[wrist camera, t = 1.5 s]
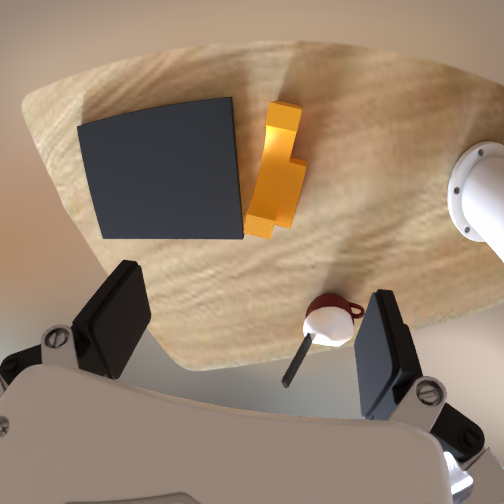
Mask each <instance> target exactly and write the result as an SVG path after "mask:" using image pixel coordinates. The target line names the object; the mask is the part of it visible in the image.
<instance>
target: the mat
mask: <svg viewBox="0 0 504 504" xmlns="http://www.w3.org/2000/svg"><path fill="white" fill-rule="evenodd" d="M77 131H78V136H79V142H80V147H81V153H82V158H83V163H84V167H85V172H86V176H87V181H88V185H89V189H90V193H91V197H92V201H93V205H94V209H95V212H96V216H97V220H98V223H99V227H100V230H101V233H102V237H103V239H243V238H244V233H243V230H244V228H243V217H242V206H241V195H240V184H239V172H238V161H237V150H236V138H235V126H234V115H233V103H232V97H227V98H217V99H208V100H200V101H193V102H186V103H179V104H173V105H167V106H161V107H156V108H150V109H145V110H141V111H136V112H131V113H127V114H122V115H118V116H114V117H110V118H106V119H102V120H98V121H95V122H91V123H88V124H84V125H81V126H77Z"/></svg>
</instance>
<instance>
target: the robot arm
mask: <svg viewBox="0 0 504 504" xmlns="http://www.w3.org/2000/svg"><path fill="white" fill-rule="evenodd" d="M454 188H455V189H454ZM447 201H448V209H449V213H450V216H451V219H452V220H453V222H454V224H455V226H456V227H457V228H458V229H459V231H460V232H461V233H462V234H463V235H464V236H466V237H467V238H469V239H471V240H474V241H479V242H485V241H486V242H487V243H488V244H489V245H490V247H491V248H492V249H493V250H494V251H495V252H496V253H497V255H498V256H499V257H500V258H501V259H502V261H503V262H504V145H502V144H500V143H497V142H493V141H484V142H481V143H477V144H476V145H474V146H472V147H470V148H469V149H468V150H467V151H466V152H465V153H464V154H463V155H462V156H461V157H460V159H459V160H458V161H457V163H456V165H455V167H454V169H453V171H452V174H451V177H450V180H449V186H448V196H447ZM150 319H151V311H150V307H149V302H148V298H147V293H146V288H145V284H144V279H143V274H142V269H141V266H140V265H138V263H137V262H136V261H130V260H123V261H122V262H121V263H120V264H119V265H118V266H117V267H116V269H115V270H114V271H113V272H112V273H111V274H110V276H109V277H108V278H107V279H106V281H105V282H104V283H103V284H102V285H101V286H100V288H99V289H98V290H97V291H96V293H95V294H94V295H93V296H92V298H91V299H90V300H89V301H88V303H87V304H86V305H85V306H84V308H83V309H82V310H81V312H80V313H79V314H78V315H77V317H76V318H75V319H74V321H73V322H72V323H73V325H72V326H71V328H70V327H68V326H66V325H56V326H53V327H51V328H49V329H48V330H47V331H46V332H45V333H44V334H43V336H42V339H41V344H40V345H37V346H34V347H31V348H28V349H25V350H23V351H20V352H17V353H14V354H11V355H9V356H7V357H6V358H5V359H4V360H3V362H2V363H1V366H0V504H502V502H503V501H504V467H503V466H502V465H501V463H500V462H499V461H498V459H497V458H496V456H495V455H494V454H493V452H492V451H491V450H490V448H489V447H488V448H487V449H486V448H485V447H484V441H485V438H484V434H483V431H482V430H481V428H480V427H479V426H478V425H477V424H475V423H474V422H472V421H471V420H470V419H468V418H467V417H466V416H464V415H463V414H461V413H460V412H459V411H457V410H456V409H454V408H453V407H451V406H450V405H449V404H448V403H446V399H447V392H446V389H445V387H444V386H443V384H442V383H441V382H440V381H439V380H437V379H435V378H433V377H429V376H423V374H422V370H421V367H420V363H419V359H418V356H417V353H416V349H415V346H414V343H413V340H412V336H411V333H410V330H409V327H408V325H406V324H404V323H403V320H402V317H401V314H400V311H399V308H398V305H397V302H396V299H395V296H394V294H393V291H392V290H382V289H378V290H377V292H376V293H372V295H371V298H370V301H369V304H368V307H367V310H366V312H365V315H364V318H363V321H362V323H361V326H360V329H359V331H358V334H357V337H356V339H355V344H354V348H355V356H356V364H357V373H358V383H359V393H360V404H361V414H362V416H363V417H365V418H366V419H338V418H320V417H305V416H292V415H281V414H272V413H264V412H256V411H249V410H242V409H236V408H229V407H223V406H217V405H212V404H207V403H202V402H197V401H192V400H187V399H183V398H179V397H174V396H170V395H166V394H162V393H158V392H154V391H150V390H147V389H143V388H139V387H136V386H132V385H129V384H126V383H122V382H119V381H115V379H118V378H119V377H120V375H121V373H122V372H123V369H124V368H125V366H126V364H127V362H128V360H129V358H130V357H131V355H132V353H133V351H134V349H135V347H136V345H137V344H138V342H139V340H140V338H141V336H142V334H143V333H144V330H145V329H146V327H147V325H148V324H149V322H150Z"/></svg>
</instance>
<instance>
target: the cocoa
mask: <svg viewBox="0 0 504 504" xmlns="http://www.w3.org/2000/svg"><path fill="white" fill-rule="evenodd" d="M351 307H353V308H357V309H359V310H361V313H359V314H354V313H352V310H351ZM364 313H365V312H364V308H363V307H362V306H360V305H358V304H355V303H351V302H347V301H346V300H345V299H344V298H343V297H341V296H339V295H336V294H324V295H321V296H319V297H317V298H315V299H314V300H313V302H312V303H311V304H310V305H309V307H308V310H307V313H306V318H305V323H304V335H305V338H304V340H303V342H302V344H301V346H300V348H299V350H298V351H297V353H296V355H295V357H294V359H293V360H292V362H291V364H290V366H289V368H288V369H287V371H286V373H285V375H284V376H283V378H282V380H281V382H282V384H283V386H284V387H285V388H288V387H289V385H290V383H291V381H292V379H293V377H294V376H295V374H296V372H297V370H298V368H299V366H300V365H301V363H302V361H303V359H304V357H305V355H306V353H307V351H308V349H309V347H310V345H311V344H312V343H316V344H322V345H331V346H340V345H342V344H343V343H345V342H347V341H348V340H350V339H351V338H352V336H353V335H354V327H353V325H354V318H355V319H358V318H362V317H363V316H364Z"/></svg>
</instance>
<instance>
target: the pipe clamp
mask: <svg viewBox="0 0 504 504" xmlns="http://www.w3.org/2000/svg"><path fill="white" fill-rule="evenodd" d="M301 113H302V106H299V105H295V104H290V103H286V102H282V101H277V100H276V101H273V102H270V104H269V109H268V114H267V118H266V123H265V125H266V127H267V131H266V140H265V146H264V151H263V156H262V161H261V166H260V170H259V174H258V178H257V182H256V186H255V190H254V194H253V197H252V200H251V204H250V207H249V210H248V212H247V215H246V220H245V225H244V230H243V233H246V234H250V235H254V236H258V237H262V238H266V239H271V235H272V231H273V227H274V225H277V226H281V227H285V228H289V229H291V225H292V221H293V218H294V214H295V211H296V207H297V203H298V200H299V196H300V192H301V187H302V183H303V179H304V175H305V171H306V168H307V163H306V161H304V160H300V159H296V158H292V157H290V156H291V152H292V148H293V144H294V140H295V136H296V133H297V130H298V125H299V121H300V117H301Z"/></svg>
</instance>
